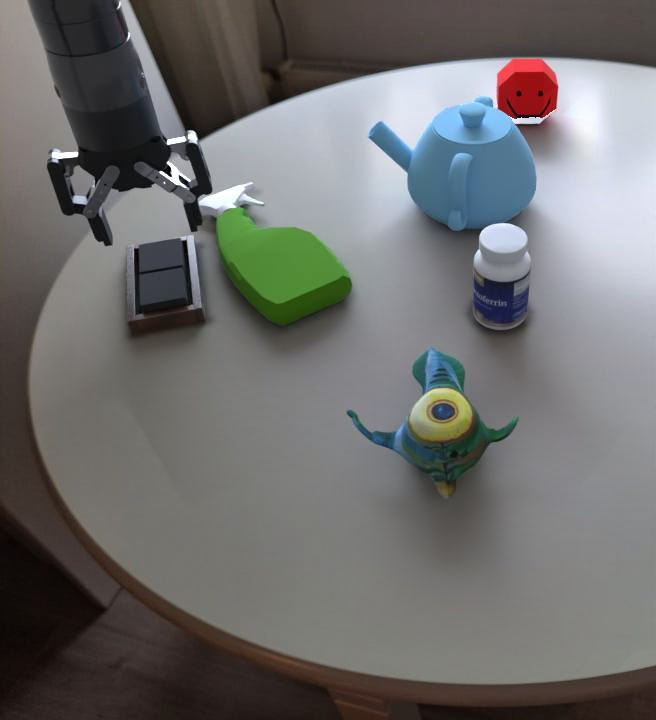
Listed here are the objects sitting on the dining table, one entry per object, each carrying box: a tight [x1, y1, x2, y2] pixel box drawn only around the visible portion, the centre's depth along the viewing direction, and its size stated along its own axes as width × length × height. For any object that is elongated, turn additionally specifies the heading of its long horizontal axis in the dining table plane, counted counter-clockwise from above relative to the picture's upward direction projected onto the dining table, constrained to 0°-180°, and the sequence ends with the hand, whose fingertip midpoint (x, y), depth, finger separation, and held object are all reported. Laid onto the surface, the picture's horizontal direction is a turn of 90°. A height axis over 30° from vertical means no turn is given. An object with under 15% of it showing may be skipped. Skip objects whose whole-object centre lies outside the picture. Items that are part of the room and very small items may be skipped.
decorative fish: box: [346, 346, 520, 499], centre depth 71 cm, size 13×12×6 cm
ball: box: [496, 58, 559, 119], centre depth 110 cm, size 8×8×8 cm
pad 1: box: [138, 237, 189, 284], centre depth 87 cm, size 4×5×3 cm
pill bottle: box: [472, 222, 532, 331], centre depth 81 cm, size 6×6×10 cm
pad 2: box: [139, 268, 191, 314], centre depth 84 cm, size 4×5×3 cm
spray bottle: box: [198, 181, 353, 326], centre depth 90 cm, size 3×11×24 cm
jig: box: [125, 234, 207, 336], centre depth 86 cm, size 7×13×2 cm, turn 18°
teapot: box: [366, 94, 538, 232], centre depth 94 cm, size 20×20×13 cm
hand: (152, 234), depth 84 cm, fingers open, 8 cm apart
